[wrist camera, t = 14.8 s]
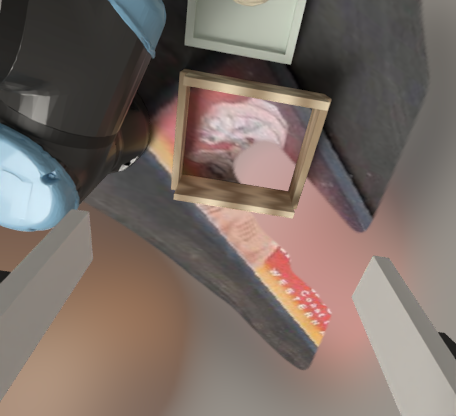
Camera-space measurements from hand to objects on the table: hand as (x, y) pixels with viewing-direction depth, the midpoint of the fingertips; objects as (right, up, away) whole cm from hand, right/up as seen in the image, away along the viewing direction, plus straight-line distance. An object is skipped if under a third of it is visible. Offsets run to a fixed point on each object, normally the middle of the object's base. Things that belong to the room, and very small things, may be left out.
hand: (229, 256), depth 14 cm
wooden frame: (+2, +13, +33) cm, 35 cm away
